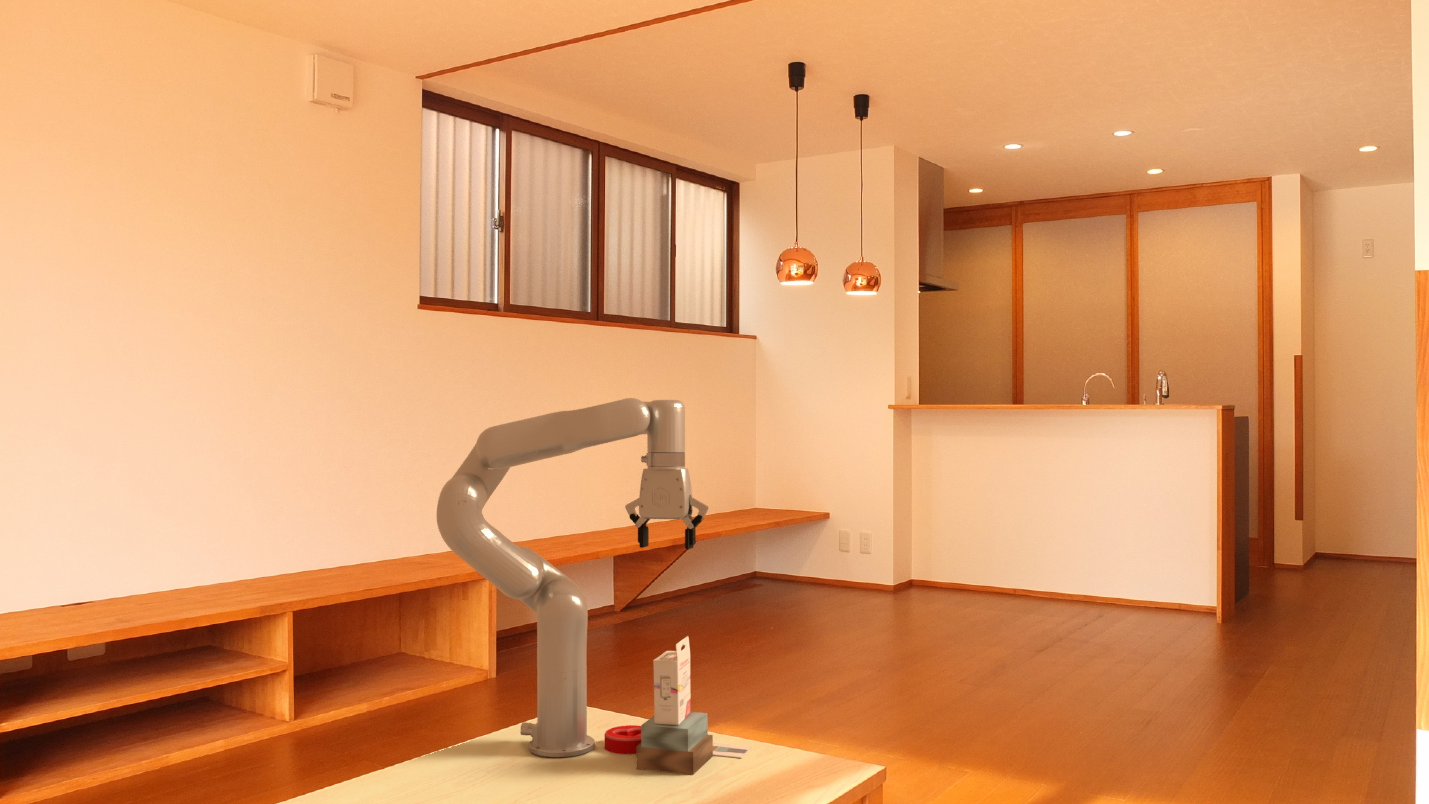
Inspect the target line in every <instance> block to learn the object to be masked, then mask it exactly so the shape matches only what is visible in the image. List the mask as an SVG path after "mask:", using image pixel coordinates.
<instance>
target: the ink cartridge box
mask: <svg viewBox="0 0 1429 804" xmlns="http://www.w3.org/2000/svg"><path fill="white" fill-rule="evenodd" d="M683 646H684V647H683ZM682 647H683V649H682ZM690 647H691V646H690V639H689V635H686V636H685V637H684V638H683V639H681V640H680V641H678V642H677V643H676V644H675V650H666V651H664V652H663V653H661V655H658V657H656V658H654V659H653V661H652V663H653V664H652V665H653V703H654V704H653V710H654V715H653V716H654V723H655V724H668V725H679V724H680V723H681V722H682V721H683V720H684V719H685V718H686V717H687V716H688V715H689V714H690V712H692V710H691V701H692V700H691V649H690Z"/></svg>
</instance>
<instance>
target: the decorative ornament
mask: <svg viewBox="0 0 1429 804" xmlns="http://www.w3.org/2000/svg"><path fill="white" fill-rule="evenodd" d="M639 744H641V725H636V724H635V725H632V724H631V725H630V724H628V725H620V726H613V727H611V728H608V729H607V730H606V731H605V732H604V750H605V751H607V752H609V753H612V754H617V755H636V747H637V746H638V745H639Z"/></svg>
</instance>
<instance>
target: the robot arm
mask: <svg viewBox="0 0 1429 804" xmlns="http://www.w3.org/2000/svg"><path fill="white" fill-rule="evenodd" d="M685 409H686V407H685V404H684V403H683V401H681V400H678V399H655V400H652V401H645V400H644V401H643V400H640V399H638V398H635V397H628V398H627V397H626V398H623V399H619V400H618V399H617V400H614V401H610V402H606V403H603V404H597V405H593V406H589V407H588V406H587V407H583V408H578V409H573V410H571V409H569V410H560V411H555V412H549V413H545V414H542V415H537V416H534V417H529V418H525V419H519V420H516V421H515V420H514V421H511V422H505V423H502V424H498V425H494V426H490V427H488V428H486V429H484V430H483V431H482V432H481V433H480V434H479V435H478V437H477V439H476V443H475V444H474V446H473V448H471V451H470V452H469V454H468V455H467V457H466V458H465V459H464V460H463V462H462V464H460V466H459V468H458V469H457V470H456V472H455V473H454V474H453V476H452V477H451V478H449V479H448V480H447V482H445V484H444V485H443V487H442V488H441V491H440V493H439V495H438V500H437V506H436V524H437V528H438V531H439V534H440V536H441V538H442V539H443V541H444V543H445V544H446V546H447V547H448V548H449V549H450V550H451V551H452V552H453V553H454V554H455V555H456V556H457V557H458V558H460V559H461V560H462V561H464V562H465V563H466V564H467V565H469V566H470V567H471V568H472V569H473V570H474V571H475V572H476V573H478V574H479V575H480V576H482V578H484V579H486V580H487V581H488V582H489V583H490V584H491V585H493V586H494V587H495V588H496V589H497V590H498V591H500V592H501V593H502V594H503V595H504V596H506V597H508V598H510V599H514V600H519V601H520V602H522V603H523V604H524V605H525V606H527V608H529V609H530V610H532V611H533V612H534V613H536V627H537V628H536V631H537V632H536V633H537V634H536V635H537V636H536V639H537V640H536V641H537V642H536V646H537V647H536V649H537V650H536V654H537V655H536V662H537V664H536V668H537V671H536V672H537V681H536V683H537V684H536V685H537V688H536V690H537V694H536V695H537V698H536V699H537V701H536V702H537V703H536V706H537V714H536V715H537V716H536V717H537V720H536V723H532V722H526V721H525V722H524V721H523V722H522V723H521V724H520V736H530V737H531V738H532V739H531V741H529V745H528V746H529V747H528V749H529V751H530V752H531V753H532V754H534V755H537V756H540V757H546V758H547V757H548V758H567V757H574V756H580V755H584V754H587V753H589V752H591V751H592V750H593V749H594V748H595V746H596V744H595V739H594V738H593V737H592V736H590V735H588V730H587V729H588V725H587V724H588V721H587V720H588V717H587V716H588V713H587V712H588V711H587V709H588V706H587V705H588V703H587V702H588V696H587V693H588V691H587V689H588V688H587V686H588V685H587V684H588V683H587V681H588V676H587V674H588V673H587V672H588V671H587V670H588V669H587V668H588V667H587V665H588V664H587V662H588V661H587V657H588V656H587V648H588V647H587V643H588V642H587V641H588V624H589V623H588V621H589V620H588V617H589V616H588V615H589V614H588V612H589V611H588V605H587V604H588V603H587V600H586V598H585V595H584V593H583V591H582V589H581V588H580V587H579V585H577V583H576V582H574V580H572V579H571V578H569V576H567V575H566V574H564V572H562V571H561V570H560V569H558V568H557V567H555V566H554V565H552V563H550V562H549V561H548V560H546V559H545V558H544V557H543V556H542V555H540V554H539V553H537V552H536V551H535V550H533V549H531V548H530V547H527V546H522V545H517V544H515V542H513V541H512V540H511V539H510V538H508V537H507V536H505V535H504V534H503V533H502V532H501V531H500V530H498V529H497V527H494V526H493V525H491V523H489V522H488V521H487V519H486V518H485V517H484V514H483V508H484V507H485V506H486V503H487V502H488V501H489V499H490V498H491V497H492V495H493V493H494V492H495V490H496V489H497V487H498V486H499V485H500V484H501V482H502V480H504V478H505V476H506V474H507V473H508V472H509V470H510V469H511V468H512V467H517V466H521V465H525V464H530V463H532V462H538V461H541V460H545V459H547V460H548V459H551V458H555V457H558V456H559V457H561V456H563V455H567V454H568V455H569V454H572V453H576V452H578V451H581V450H583V449H586V448H587V449H588V448H590V447H596V446H599V445H603V444H608V443H612V442H616V441H622V440H625V439H630V438H634V437H637V436H640V435H641V436H642V435H647V437H646V439H647V441H646V443H647V447H646V448H647V452H646V454H645V455H641V457H640V461H641V463H645V464H646V467H647V468H643V470H642V474H641V479H640V487H639V488H640V489H639V497H638V498H636V499H635V500H633V501H631V502H629V503H626V504H625V506H624V508H625V510H626V512H627V514H628V516H629V519H630V521H632V523H633V524H634V525H635V527H636V528H637V543H639V548H640V549H643V548H646V547H649V546H650V545H649V542H650V541H649V539H650V538H649V533H650V532H649V531H650V530H649V526H648V523H649V521H651V520H682V522H683V523H684V525H686V528H685V530H684V549H686V550H691V549H693V548H694V547H695V545H696V542H697V541H696V540H697V539H696V534H697V533H696V528H697V527H698V526H699V525H700V524H701V523H702V522H703V520H704V519H705V517H706V515H707V513H708V510H709V506H708V505H707V504H705V503H703V502H701V501H699V500H698V499H696V498H695V497H693V490H692V482H691V477H690V471H689V468H686V410H685ZM637 507H638V513H637V511H636V508H637ZM693 507H694V508H695V509H697V511H698V513H697V515H696V516H695V517H693V516H692V515H693V511H694V510H693Z"/></svg>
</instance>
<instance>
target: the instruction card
mask: <svg viewBox="0 0 1429 804" xmlns="http://www.w3.org/2000/svg"><path fill="white" fill-rule="evenodd" d="M751 749H752V746H751V745H750V746H749V745H741V744H739V745H738V744H729V743H720V742H719V743H717V742H713V756H715V757H724V758H734V759H742V758H743V757H744V756H745V755H747V753H748V752H750V750H751Z"/></svg>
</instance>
